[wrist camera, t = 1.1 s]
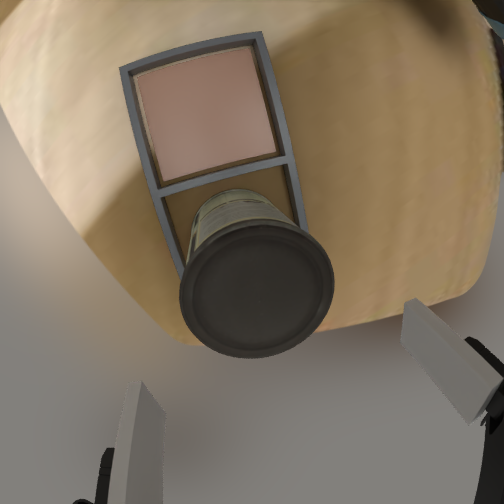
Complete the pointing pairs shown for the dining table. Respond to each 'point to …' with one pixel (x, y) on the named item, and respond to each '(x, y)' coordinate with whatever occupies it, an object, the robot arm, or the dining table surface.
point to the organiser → (208, 121)
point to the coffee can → (252, 278)
